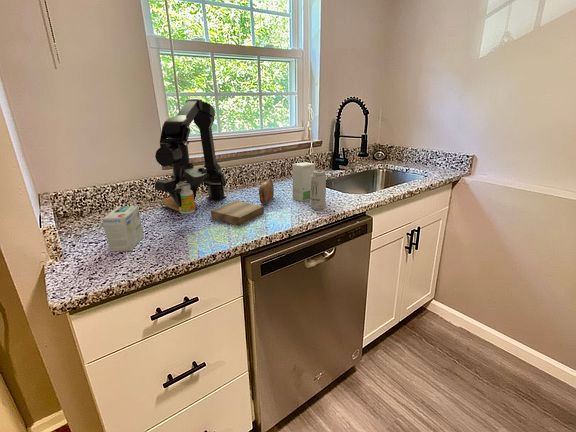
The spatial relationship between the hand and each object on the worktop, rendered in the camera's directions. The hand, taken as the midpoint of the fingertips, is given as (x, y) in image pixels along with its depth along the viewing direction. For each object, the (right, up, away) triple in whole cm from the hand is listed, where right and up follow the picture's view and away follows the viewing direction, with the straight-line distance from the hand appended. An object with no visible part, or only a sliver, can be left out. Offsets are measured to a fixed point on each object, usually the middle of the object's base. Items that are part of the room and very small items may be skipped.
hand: (186, 204), depth 109 cm
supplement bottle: (0, -3, +1) cm, 3 cm away
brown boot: (-8, -1, +19) cm, 21 cm away
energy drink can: (+47, -1, +17) cm, 50 cm away
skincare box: (+42, +3, +28) cm, 51 cm away
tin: (+26, +2, +26) cm, 37 cm away
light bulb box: (-14, -13, -12) cm, 23 cm away
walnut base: (+17, -4, +9) cm, 19 cm away
